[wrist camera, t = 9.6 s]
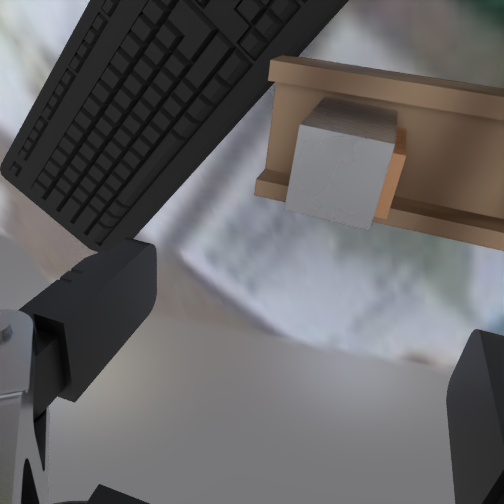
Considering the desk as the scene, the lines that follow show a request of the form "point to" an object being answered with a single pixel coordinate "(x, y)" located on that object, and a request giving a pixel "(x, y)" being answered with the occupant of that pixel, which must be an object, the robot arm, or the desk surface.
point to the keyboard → (147, 104)
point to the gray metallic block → (347, 162)
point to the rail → (417, 145)
